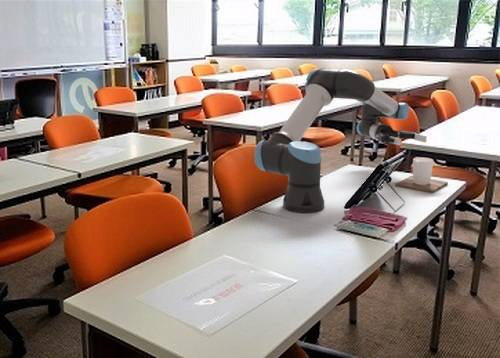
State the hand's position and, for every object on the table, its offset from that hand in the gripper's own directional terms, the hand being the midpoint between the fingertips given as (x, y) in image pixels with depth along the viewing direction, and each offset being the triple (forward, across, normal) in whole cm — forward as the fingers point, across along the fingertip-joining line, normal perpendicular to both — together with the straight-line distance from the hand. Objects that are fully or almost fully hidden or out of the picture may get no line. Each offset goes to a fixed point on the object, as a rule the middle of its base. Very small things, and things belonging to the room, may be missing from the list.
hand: (413, 140), depth 215 cm
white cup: (+7, 0, -17) cm, 18 cm away
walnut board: (+7, 0, -18) cm, 19 cm away
